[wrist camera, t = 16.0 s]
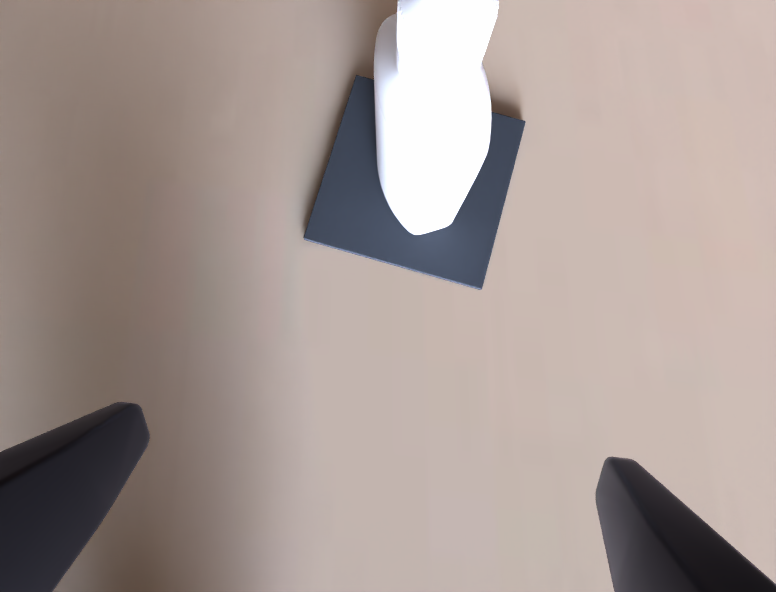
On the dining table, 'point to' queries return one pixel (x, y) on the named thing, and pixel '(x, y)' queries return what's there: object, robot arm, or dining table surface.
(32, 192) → the dining table surface
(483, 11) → the eye dropper bottle
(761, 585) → the robot arm
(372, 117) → the coaster
